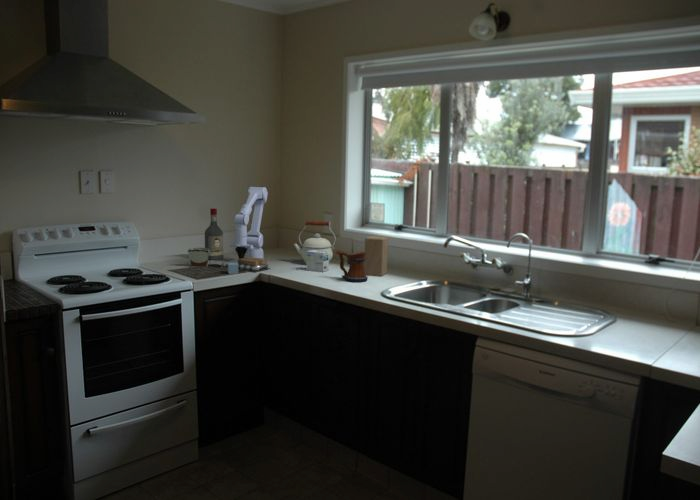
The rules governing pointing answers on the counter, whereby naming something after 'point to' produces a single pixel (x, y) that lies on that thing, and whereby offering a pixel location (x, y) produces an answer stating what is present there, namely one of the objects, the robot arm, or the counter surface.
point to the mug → (353, 266)
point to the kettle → (315, 242)
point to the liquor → (214, 238)
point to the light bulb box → (318, 260)
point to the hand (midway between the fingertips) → (241, 260)
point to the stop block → (233, 268)
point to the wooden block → (376, 255)
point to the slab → (252, 261)
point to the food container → (198, 257)
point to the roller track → (246, 267)
